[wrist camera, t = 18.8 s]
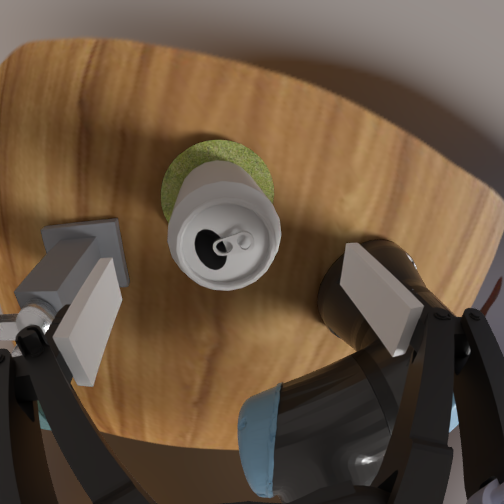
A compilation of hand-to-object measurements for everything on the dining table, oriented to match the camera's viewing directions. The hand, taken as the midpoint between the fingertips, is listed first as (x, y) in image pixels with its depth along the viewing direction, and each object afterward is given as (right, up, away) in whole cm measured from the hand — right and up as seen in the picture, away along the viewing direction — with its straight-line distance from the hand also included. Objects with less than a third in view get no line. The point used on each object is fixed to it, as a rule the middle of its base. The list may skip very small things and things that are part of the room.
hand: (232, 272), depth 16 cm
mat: (-3, +7, +14) cm, 16 cm away
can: (-2, +7, +12) cm, 14 cm away
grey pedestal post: (-18, +1, +14) cm, 23 cm away
